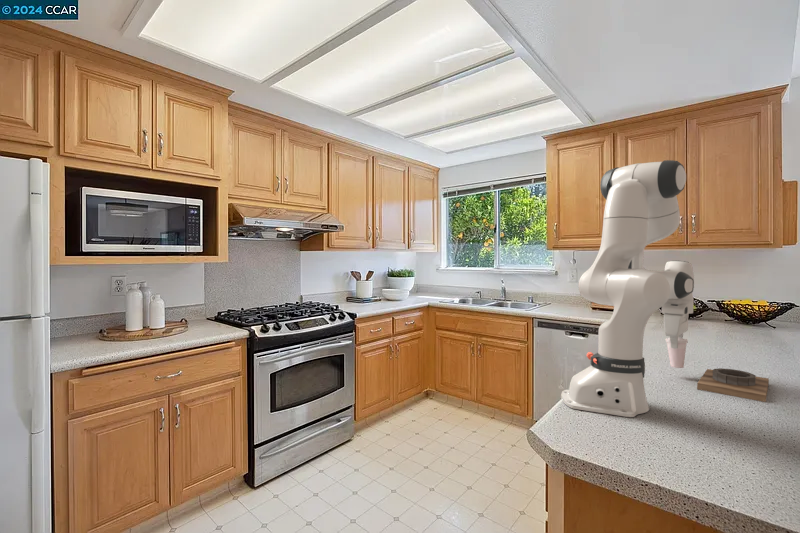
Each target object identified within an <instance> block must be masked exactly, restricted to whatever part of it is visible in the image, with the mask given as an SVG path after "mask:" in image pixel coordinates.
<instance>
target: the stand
mask: <svg viewBox="0 0 800 533" xmlns="http://www.w3.org/2000/svg"><path fill="white" fill-rule="evenodd" d="M769 382H770V379H769V377H768V378H767V377H762V376H756V375H755V374H754V373H752V372H747V371H743V370H740V369H733V368H714V369H711V368H710V369H709V368H707V369H706V370H705V371H704V373H703V374H702V376H701V377H700V379H699V380H698V382H696V390H700V391H704V392H709V393H710V392H711V393H716V394H721V395H725V396H730V397H737V398H741V399H747V400H753V401H757V402H762V403H763V402H764V403H767V400H768V391H769Z"/></svg>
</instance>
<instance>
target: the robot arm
mask: <svg viewBox="0 0 800 533" xmlns="http://www.w3.org/2000/svg"><path fill="white" fill-rule="evenodd" d="M686 182H687V173H686V169H685V166H684V165H683V164H682V163H681V162H679V160H674V159H673V160H672V159H671V160H670V159H667V160H663V161H653V162H652V161H651V162H643V163H642V162H638V163H633V164H629V165H625V166H621V167H615V168H611V169H609V170H606V172H605V173H604V174H603V176H602V177H601V179H600V183H599V184H600V186H599V187H600V193H601V194H602V197H603V198H604V199H605V204H604V212H603V219H602V220H603V221H602V232H601V241H600V247H599V249H598V253H597V255H596V257H595V259H594V261H593V263H592V264H591V266H590V267H589V268H588V269H586V271H584V272H583V273H582V275H581V276H580V278H579V280H578V290H579V294H580V295H581V297H582V298H583V299H585V300H587V301H589V302H592V303H594V304H597V305H602V306H603V305H604V306H610V307H611V306H612V307H613V312H612V314H611V317H610V319H607V320H606V321H604V322H602V323H601V324H600V325H599V327H598V330H597V331H598V336H597V337H598V344H597V346H598V347H597V350H598V351H597V352H596V353H595V354H594V353H593V352H592V351H588V352H587V353H586V357H587V359H588V360H590V365H589V366H587V367H586V368H584V369H583V370H581V371H579V372H577V373H576V374H574V375H573V376H572V377H571V379H570V383H569V388H568V389H564V390H562V391H561V394H560V398H561V400H562V399H563V400H562V402H563V404H565V406H567V407H569V408H571V409H573V410H582V411H586V412H593V413H599V414H605V415H613V416H619V417H626V418H634V417H637V415H640V414H644V413H648V412H649V410H650V406H649V402H648V400H647V396H646V395H647V394H646V391H645V390H646V389H645V382H644V378H645V375H646V374H645V373H646V363H645V358H644V355H643V354H644V352H643V351H644V334H645V329H646V326H647V323H648V321H649V320H650V318H651V317H652V315H653V314H654V313H655V312H656V311H657V310H659V309H660V308H661V313H662V314H663V332H664V335H665V336H666V337H669V338H670V341H671V348H675V349H676V348H678V336H679V338H683V337H684V334H685V333H686V332H687V331H688V329H689V314H694V295H693V292H694V288H695V275H694V268H693V264H692V263H690V262H689V261H686V260H669V261H667V262H666V263H665V266H664V270H661V269H659V270H658V269H657V270H656V269H655V270H654V269H647V268H645V267H644V258H645V257H644V256H645V254H644V253H645V252H644V251H645V248H646V247H647V246H648V245H651V244H654V243H656V242H659V241H662V240H664V239H666V238H668V237H669V236H672V235H673V234H674V233H675V232H676V231H677V230H678V228H679V226H680V224H681V214H680V206H679V200H678V195H680V193H681V192H682V191H683V190H684V188H685V186H686ZM683 339H684V338H683ZM568 393H569V394H568Z"/></svg>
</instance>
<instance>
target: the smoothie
mask: <svg viewBox="0 0 800 533" xmlns="http://www.w3.org/2000/svg"><path fill="white" fill-rule="evenodd" d="M688 341H689V340H688V339H687V338H679V336H678V348H676V349H675V348H671V341H670V337H666V338H665V342H666V346H667V352H668V359H669V363H670V364H669V365H670V367H671V368H675V369H683V368H684V366H685V360H686V359H685V358H686V352H687V351H686V350H687V344H688Z"/></svg>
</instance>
